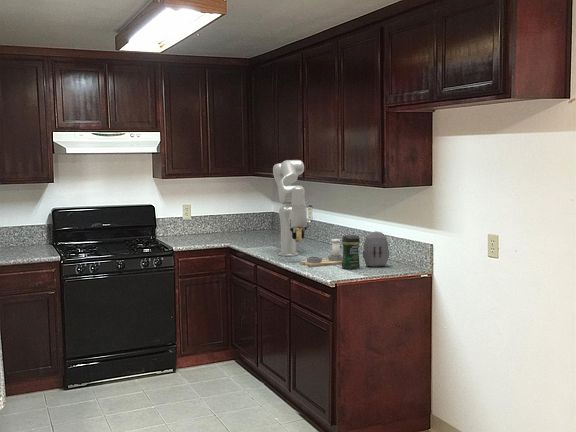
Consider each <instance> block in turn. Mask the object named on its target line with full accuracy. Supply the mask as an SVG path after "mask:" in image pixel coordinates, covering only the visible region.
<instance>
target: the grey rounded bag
mask: <svg viewBox="0 0 576 432" xmlns="http://www.w3.org/2000/svg"><path fill="white" fill-rule="evenodd" d="M362 258H363V260H364V263H365V265H366V266H368V267H375V268H376V267H383V266H387V263H388V260H389V258H390V250H389V242H388V239H387V236H386V235H385V234H384V233H383V232H381V231H372V232H370V233H368V234H367V235H366V236H365V239H364V242H363V250H362Z"/></svg>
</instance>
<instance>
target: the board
mask: <svg viewBox="0 0 576 432" xmlns="http://www.w3.org/2000/svg"><path fill="white" fill-rule="evenodd" d="M299 265H303V266H304V267H308V268H317V267H329V266H340V265H341V266H342V261H329V259H328V258H322V262H321V263H308V262H307V259H305V260H300V261H299Z"/></svg>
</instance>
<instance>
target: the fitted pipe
mask: <svg viewBox="0 0 576 432" xmlns="http://www.w3.org/2000/svg"><path fill="white" fill-rule="evenodd" d="M340 242H341V239H340V238H331V254H330V255H328V258H327V259H329V261H342V259H343V254H341V253H340V249H341V248H340V245H341V244H340Z"/></svg>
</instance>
